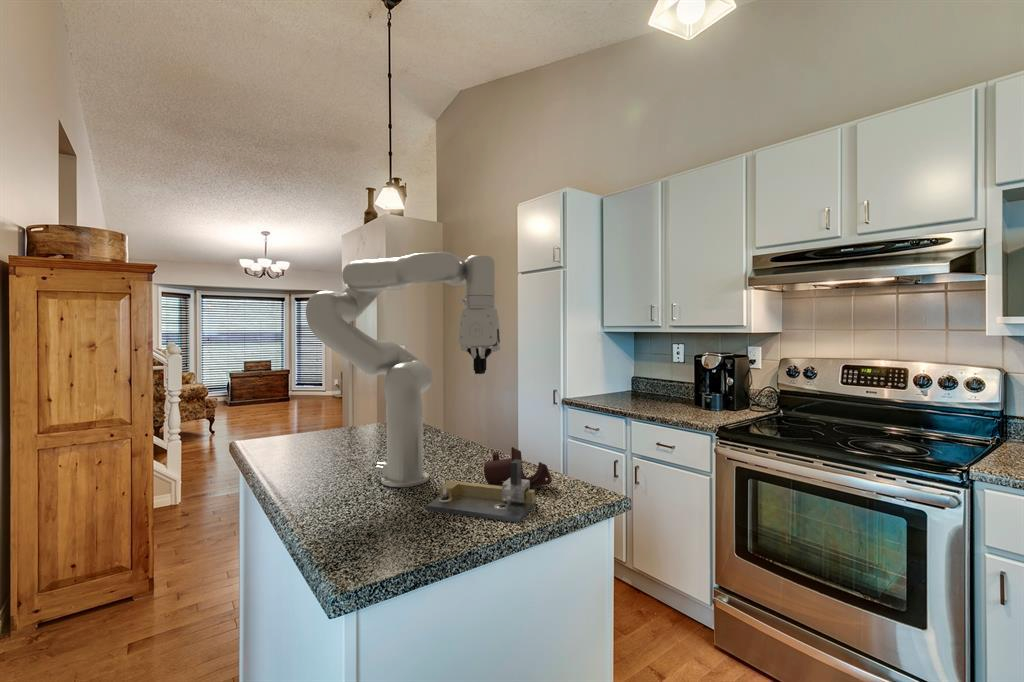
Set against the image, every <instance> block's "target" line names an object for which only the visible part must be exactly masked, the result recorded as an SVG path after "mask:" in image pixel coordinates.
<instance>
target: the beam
mask: <svg viewBox="0 0 1024 682" xmlns="http://www.w3.org/2000/svg"><path fill="white" fill-rule="evenodd" d="M457 495H466V496H474V497H482V498H490V499H498V500H502V485H494V484H487V483H486V484H485V483H478V482H477V483H475V482H467V481H459V480H458V481H457V480H450V479H448V480H447V481H445V483H444V484H443V485H441V486H440V487H439V497H440V498H443V499H447V498H449V499H453V498H454V497H456V496H457ZM535 499H536V490H535V489H525V490H524V502H523V503H530V504H533V503H534V501H535Z"/></svg>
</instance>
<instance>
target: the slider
mask: <svg viewBox="0 0 1024 682" xmlns="http://www.w3.org/2000/svg"><path fill="white" fill-rule="evenodd" d="M522 468H523V459H522V460H517V459H515V460H514V461H512V462H511V478H509V479H508V480H506V481H503V483H502V485H501V486H502V500H504V501H507V506H511V501H512V502H520V503H523V502H524V490H525V489H530V488H531V487H530V480H525V479H522ZM530 490H531V489H530Z"/></svg>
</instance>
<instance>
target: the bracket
mask: <svg viewBox="0 0 1024 682" xmlns="http://www.w3.org/2000/svg"><path fill="white" fill-rule="evenodd" d="M510 449H511V451H510V452H511V453H510V454H511V458H505V459H504V458H503V459H500V454H499V452H493V453H492V456H491V457H492V458H491V459H492V460H489V461H485V463H484V465H483V475H484V478H485V481H486V484H493V483H499V482H500V483H501V482H505V481H506V480H508V479H509V478H511V462H512V461H514V460H515V459H517V460H522V461H523V458H522V451H521V450H519V449H518V448H515V447H511V448H510ZM522 479H525V480H530V488H532V487H540V486H541V487H542V486H549V485H550V484H551V483H552V481H553V479H552V476H551V473H550V470H549V468H548V466H547V464H545V463H543V462H541V461H539V462H538V468H537V470H536V472H535V473H534V474H533V475H532V476H526V475H525V473H524V469H523V467H522Z"/></svg>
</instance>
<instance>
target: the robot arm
mask: <svg viewBox="0 0 1024 682" xmlns="http://www.w3.org/2000/svg"><path fill="white" fill-rule="evenodd" d="M495 264H496V263H495V259H494V258H493V257H492V256H489V255H484V254H482V255H481V254H480V255H478V254H475V255H470V256H468V257H467V258H461V257H458V256H457V255H455V254H453V253H452V252H448V251H436V252H435V251H434V252H432V251H431V252H420V253H412V254H408V255H403V256H400V257H390V258H389V257H387V258H377V259H376V258H374V259H373V258H372V259H361V260H354V261H350V262H349V263H347V264H346V265H345V266H344V267H343V269H342V272H341V277H342V282H343V283H344V285H345V286H346V289H344V291H342V292H339V291H332V290H321V291H318V292H315V293H313V294H312V295H310V297H309V299H308V300H307V302H306V306H305V318H306V322H307V326H308V327H309V329H310V330H311V332H312V333H313V335H314V336H315V337H316V338H317V339H318V340H319V341H320V342H322V343H323V344H324V345H325V346H327V347H328V348H330V349H331V350H332V351H334V352H335V353H337V354H338V355H339V356H341V357H342V358H343V359H345V360H346V361H348V362H349V363H350V364H352V365H353V366H354V367H356V368H357V369H359V370H360V371H361V372H363V373H365V374H366V375H369V376H381V375H384V380H383V390H384V396H385V398H384V399H385V404H386V405H385V406H386V462H384V461H383V462H382V461H378V462H377V463H376V465H375V469H374V470H375V472H382V476H381V477H380V483H381V485H384V486H386V487H391V488H409V487H410V488H412V487H416V486H420V485H423V484H424V483H427V482H428V481H429V479H430V478H429V477H430V475H429V473H427V472H426V471H424V410H423V408H424V407H423V402H422V401H423V400H422V395H421V394H424V393H425V392H426V391H428V390H430V387H431V385H432V384H433V380H434V379H433V378H434V376H433V372H432V370H431V368H430V366H429V365H427V364H426V363H425V362H424V361H423V360H422V359H419V358H418V357H417V356H415V355H414V354H412V353H411V352H409V351H408V350H407V349H405V348H403V347H402V346H400V345H399V344H397V343H395V342H392V341H390V340H379V339H374V338H372V337H371V336H369V335H368V334H366V333H365V332H363V331H362V330H361V329H359V328H357V326H354V325H353V324H351V322H353V321H354V320H356V319H358V318H359V317H360V316H362V314H363V313H364V312H365V310H367V308H368V307H369V306H370V305H371V304H372V303H373V302H374V301H375V300H376V299H377V298H378V297H379V295H380V294H381V293H382V292H383V291H399V290H400V291H401V290H404V289H407V287H409V286H411V285H414V284H415V285H416V284H419V283H420V284H423V283H437V282H439V283H445V284H447V285H449V286H453V287H454V286H457V287H458V286H462V285H465V296H464V299H461V301H460V302H461V305H464V307H465V308H462V311H461V314H460V321H459V330H458V332H459V333H458V343H459V345H460V350H461V351H462V352H466V353H468V354H469V355H470V356H471V358H472V359H473V371H474V374H475V375H482V374H486V371H487V359H488V358H489V356H490V355H491V354H492V353H494V352H499V351H500V350H501V347H500V342H501V329H500V319H499V314H498V309H497V308H495V307H496V306H495V300H496V299H495V292H496V290H495V285H496V283H495V280H496V278H495V277H496V276H495V275H496V274H495V272H496V271H495V269H496V267H495V266H496V265H495Z"/></svg>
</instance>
